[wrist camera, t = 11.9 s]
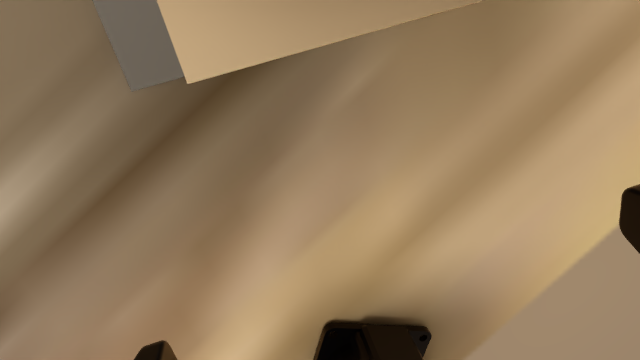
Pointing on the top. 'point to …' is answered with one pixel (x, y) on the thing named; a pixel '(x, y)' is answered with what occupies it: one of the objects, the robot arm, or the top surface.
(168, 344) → the robot arm
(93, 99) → the top surface
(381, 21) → the ash block
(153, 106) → the top surface
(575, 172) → the top surface
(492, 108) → the top surface
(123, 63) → the slate mat
